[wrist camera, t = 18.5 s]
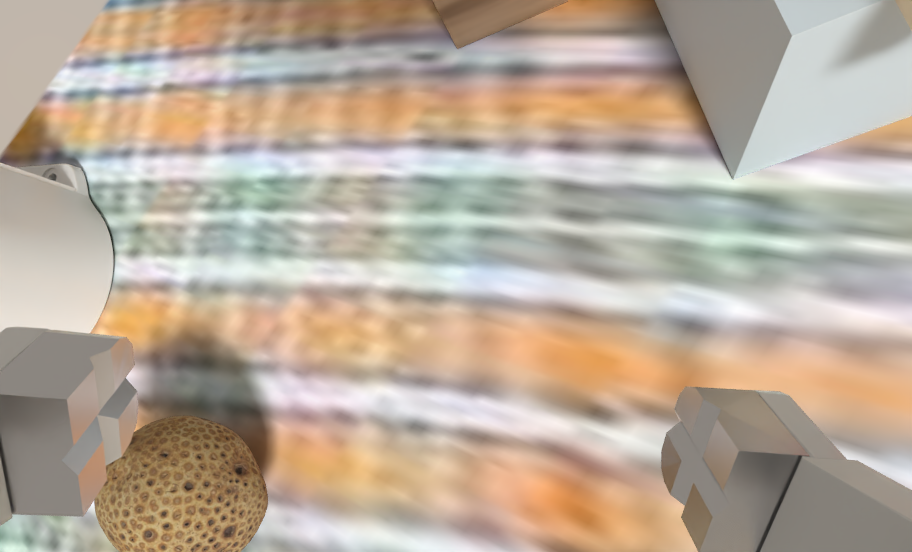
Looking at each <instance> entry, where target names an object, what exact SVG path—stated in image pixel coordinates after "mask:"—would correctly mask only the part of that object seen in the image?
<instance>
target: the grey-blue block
mask: <svg viewBox="0 0 912 552" xmlns="http://www.w3.org/2000/svg"><path fill="white" fill-rule="evenodd" d="M655 3H656V5H657V7H658V9H659V12H660V14H661V16H662V19H663V21H664V23H665V25H666V28H667V30H668V32H669V35H670V37H671V39H672V41H673V44H674V46H675V48H676V50H677V53H678V55H679V57H680V60H681V62H682V64H683V66H684V69H685V71H686V73H687V76H688V78H689V80H690V82H691V85H692V87H693V89H694V92H695V94H696V96H697V98H698V101H699V103H700V105H701V108H702V110H703V112H704V114H705V117H706V119H707V121H708V124H709V126H710V128H711V130H712V133H713V135H714V137H715V140H716V142H717V144H718V146H719V149H720V151H721V153H722V156H723V158H724V160H725V162H726V165H727V167H728V169H729V172H730V174H731V176H732V178H733V179H736V178H739V177H742V176H745V175H747V174H750V173H753V172H756V171H759V170H761V169H764V168H767V167H770V166H773V165H776V164H778V163H781V162H784V161H787V160H790V159H792V158H795V157H798V156H801V155H804V154H806V153H809V152H812V151H815V150H818V149H821V148H823V147H826V146H829V145H832V144H835V143H837V142H840V141H843V140H846V139H849V138H851V137H854V136H857V135H860V134H863V133H866V132H868V131H871V130H874V129H877V128H880V127H882V126H885V125H888V124H891V123H894V122H896V121H899V120H902V119H905V118H908V117H911V116H912V31H911V29H910V27H909V25H908V23H907V22H906V20H905V18H904V16H903V14H902V12H901V11H900V9H899V7H898V5H897V3H896V1H895V0H655Z"/></svg>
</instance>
